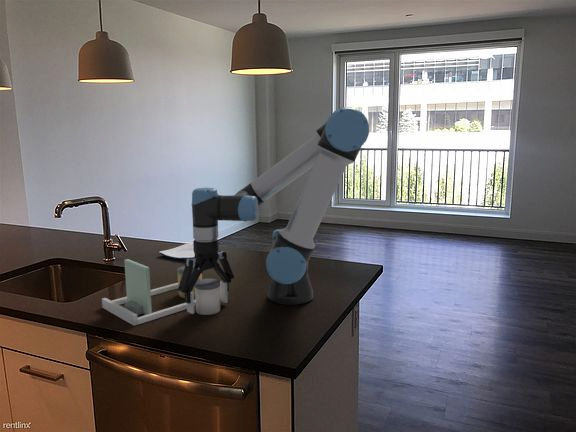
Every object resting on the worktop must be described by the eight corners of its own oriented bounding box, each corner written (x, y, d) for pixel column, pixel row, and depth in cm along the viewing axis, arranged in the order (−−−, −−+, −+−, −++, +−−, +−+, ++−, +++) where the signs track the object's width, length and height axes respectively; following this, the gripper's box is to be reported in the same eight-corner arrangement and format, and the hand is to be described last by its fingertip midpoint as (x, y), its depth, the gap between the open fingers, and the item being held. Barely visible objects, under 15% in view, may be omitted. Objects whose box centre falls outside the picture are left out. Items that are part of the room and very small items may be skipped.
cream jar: (225, 310, 149) (225, 282, 148) (205, 317, 144) (204, 288, 142) (210, 303, 155) (209, 276, 153) (190, 310, 149) (189, 282, 148)
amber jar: (208, 293, 164) (206, 267, 162) (189, 299, 157) (188, 273, 156) (192, 289, 169) (190, 264, 167) (173, 295, 162) (171, 269, 161)
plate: (190, 264, 199) (190, 258, 198) (155, 257, 209) (155, 251, 209) (222, 253, 216) (222, 247, 215) (188, 247, 226) (188, 242, 226)
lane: (222, 297, 160) (222, 288, 160) (134, 325, 138) (133, 315, 137) (188, 283, 174) (187, 275, 173) (102, 307, 151) (101, 298, 151)
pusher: (151, 314, 145) (149, 267, 143) (141, 318, 143) (138, 269, 140) (130, 304, 154) (127, 258, 151) (120, 307, 152) (117, 261, 149)
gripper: (229, 231, 156) (230, 294, 160) (163, 244, 139) (167, 314, 143) (244, 234, 151) (245, 299, 155) (178, 248, 134) (181, 321, 138)
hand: (207, 307), depth 149 cm, fingers open, 12 cm apart
